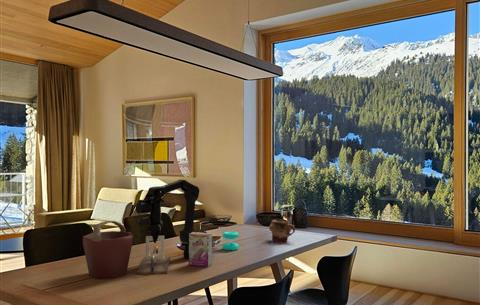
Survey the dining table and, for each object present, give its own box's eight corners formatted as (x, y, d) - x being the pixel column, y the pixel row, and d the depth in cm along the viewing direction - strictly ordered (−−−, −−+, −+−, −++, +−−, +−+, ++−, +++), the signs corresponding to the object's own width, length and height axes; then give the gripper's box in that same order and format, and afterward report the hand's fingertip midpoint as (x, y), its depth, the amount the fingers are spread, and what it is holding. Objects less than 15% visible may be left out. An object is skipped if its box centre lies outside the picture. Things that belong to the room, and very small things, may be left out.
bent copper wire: (158, 257, 238) (158, 241, 238) (153, 271, 209) (153, 253, 209) (155, 257, 238) (155, 241, 238) (150, 271, 209) (151, 253, 209)
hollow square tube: (164, 256, 228) (164, 235, 228) (163, 258, 223) (163, 237, 223) (146, 257, 227) (146, 235, 227) (145, 259, 222) (145, 237, 222)
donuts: (221, 233, 261) (223, 231, 271) (221, 250, 261) (223, 247, 271) (237, 234, 260) (239, 231, 270) (237, 251, 260) (239, 247, 270)
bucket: (102, 284, 192) (103, 226, 192) (70, 276, 203) (70, 222, 204) (142, 271, 212) (143, 220, 213) (111, 265, 224) (111, 216, 224)
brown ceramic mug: (299, 241, 290) (299, 220, 290) (291, 244, 280) (291, 222, 280) (273, 238, 301) (273, 218, 301) (264, 241, 291) (264, 220, 291)
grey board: (170, 258, 240) (170, 256, 240) (167, 273, 209) (167, 271, 209) (144, 259, 239) (144, 256, 239) (137, 274, 208) (137, 271, 208)
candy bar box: (188, 265, 225) (188, 233, 225) (192, 263, 230) (192, 231, 230) (208, 267, 221) (208, 234, 222) (212, 265, 226) (212, 233, 226)
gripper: (141, 209, 233) (141, 239, 233) (137, 214, 215) (136, 246, 215) (162, 209, 234) (162, 238, 234) (160, 214, 216) (160, 245, 216)
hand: (155, 242), depth 225 cm, fingers closed on hollow square tube, 3 cm apart
